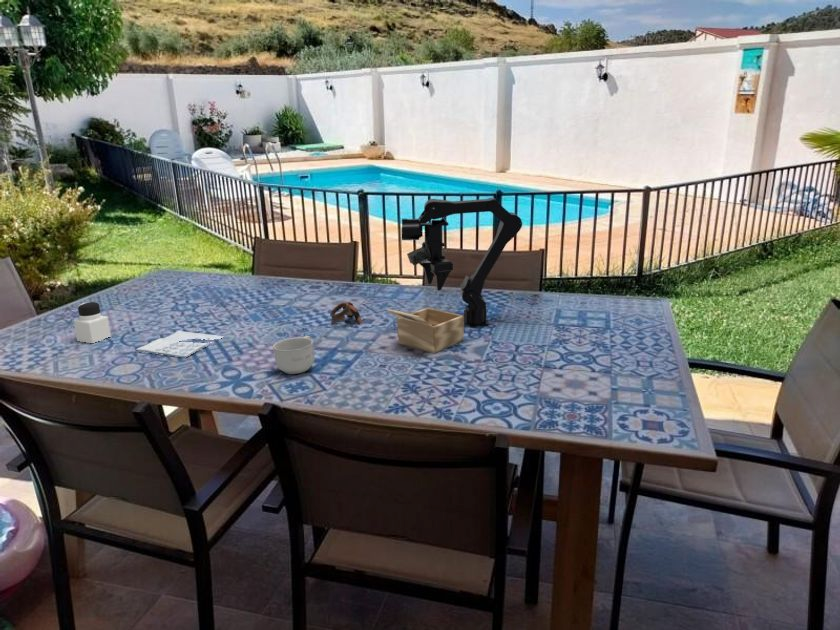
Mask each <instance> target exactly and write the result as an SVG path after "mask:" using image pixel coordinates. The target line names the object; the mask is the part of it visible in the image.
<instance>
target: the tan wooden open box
mask: <svg viewBox="0 0 840 630" xmlns="http://www.w3.org/2000/svg"><path fill="white" fill-rule="evenodd" d="M409 314H412V315H416V316H419V317H421V318H422V319H424V320H425V321H427V322H428V323H430V324H431V325H432V326H429V325H425V324H421V323H417V322H413V321H409V320H405V319H401V318H399V317H397V318H396V326H397V327H396V328H397V329H396V330H397V338H398V345H399V344H400V345H403V346H406V347H410V348H414V349H417V350H420V351H423V352H427V353H430V354H436V353H438V352H440V351H443V350H445V349H447V348H449V347H453V346H455V345H457V344H459V343H461V342H463V341H464V335H465V334H464V333H465V332H464V331H465V329H464V328H465V327H464V326H465V323H464V314H463V315H462V314H458V313H453V312H449V311H445V310H441V309H437V308H432V307H425V308H423V309H419V310H417V311H413V312H410V313H409Z"/></svg>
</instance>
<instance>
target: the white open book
mask: <svg viewBox="0 0 840 630" xmlns="http://www.w3.org/2000/svg"><path fill="white" fill-rule="evenodd" d="M223 337H224V338H225V336H223V335H215V334H214V335H213V334H207V333H198V332H189V331H183V330H177V331H176V332H174V333H172V334H170V335H168V336H166V337H163V338H161V337H158V338H157V339H156V340H153V341H150V342H149V343H148V344H145V345H142V346H140V347H138V348H136V350H138V351H145V352H151V353H158V354H163V355H170V356H177V357H176V358H178V357H184V358H183V359H186V358H185V357H187V358H189V357H190V355H191V354H193V353H194V354H195V352H196V351H198V350H200V349H202V348H204V347H206V348H208V347H207V346H208V344H210V343H212V342H208V343H193V342H179V341H182V340H187V339H201V340H203V339H205V340H214V339H221V338H223ZM224 338H223V339H224ZM221 340H222V339H221ZM204 349H205V348H204ZM202 350H203V349H202ZM200 351H201V350H200ZM198 352H199V351H198ZM196 353H197V352H196ZM194 354H193V355H194ZM163 355H162V356H163ZM170 356H169V357H170ZM188 356H189V357H188ZM191 356H192V355H191Z"/></svg>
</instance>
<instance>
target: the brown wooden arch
mask: <svg viewBox="0 0 840 630" xmlns="http://www.w3.org/2000/svg"><path fill="white" fill-rule="evenodd" d="M340 310H342V311H340ZM338 311H340V312H338ZM329 316H330V318H331V323H332V324H334V325H335V324H336V323H337V322H341V321H344V322H345V321H346V316H347V318H349V319H350V318H354V320H355V321H357V322H358V324H359V325H360V326H361V325H362V323H363V321H362V317H361V315H360V312H359V311H358V309H357V307H355V306H354V304H353V303H352V302H350V301H348V302H346V301H345V302H342V303H339V304H337V305H336V306H334V307H333V309H332V310H331V312H330V314H329Z"/></svg>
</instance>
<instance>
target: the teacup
mask: <svg viewBox="0 0 840 630" xmlns="http://www.w3.org/2000/svg"><path fill="white" fill-rule="evenodd" d="M272 349H273V354H274V360H275V364H276V366H277V368H278V369H279V370H280V371H282V372H284V373H285V374H289V375H296V374H302V373H305V372H306V371H308V370H309V369H310V367H311V366H312V365H313V364H314V362H315V350H314V341H313V339H312V337H311V336H309V335H304V336H303V337H301V336H299V337H298V336H297V337H290V338H289V337H288V338H285V339H282V340H278V341H277V342H276V343H273V345H272Z"/></svg>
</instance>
